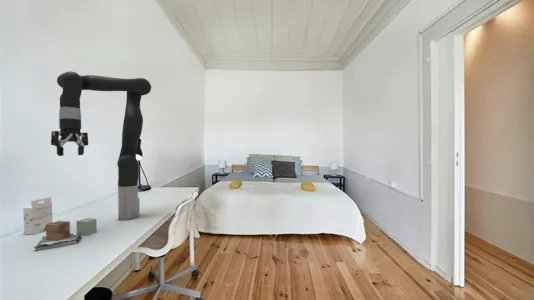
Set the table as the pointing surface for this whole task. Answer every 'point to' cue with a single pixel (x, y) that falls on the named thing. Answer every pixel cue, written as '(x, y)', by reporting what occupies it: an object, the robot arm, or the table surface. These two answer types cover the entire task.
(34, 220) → the ink cartridge box
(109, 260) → the table surface
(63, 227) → the walnut block
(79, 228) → the sage block
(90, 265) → the table surface
